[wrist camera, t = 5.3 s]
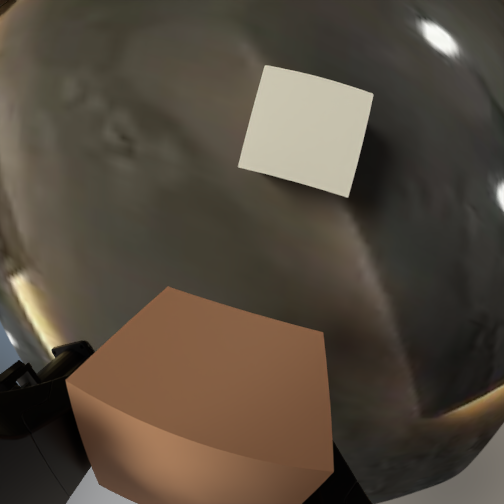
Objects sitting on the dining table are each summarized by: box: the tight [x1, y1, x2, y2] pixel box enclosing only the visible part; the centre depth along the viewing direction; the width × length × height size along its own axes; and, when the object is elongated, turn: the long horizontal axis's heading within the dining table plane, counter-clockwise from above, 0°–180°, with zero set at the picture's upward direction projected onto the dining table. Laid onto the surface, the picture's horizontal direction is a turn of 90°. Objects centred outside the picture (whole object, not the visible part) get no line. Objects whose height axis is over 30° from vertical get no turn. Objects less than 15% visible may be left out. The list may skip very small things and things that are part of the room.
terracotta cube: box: [66, 287, 334, 504], centre depth 7 cm, size 5×5×5 cm
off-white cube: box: [238, 65, 373, 198], centre depth 14 cm, size 5×5×5 cm
